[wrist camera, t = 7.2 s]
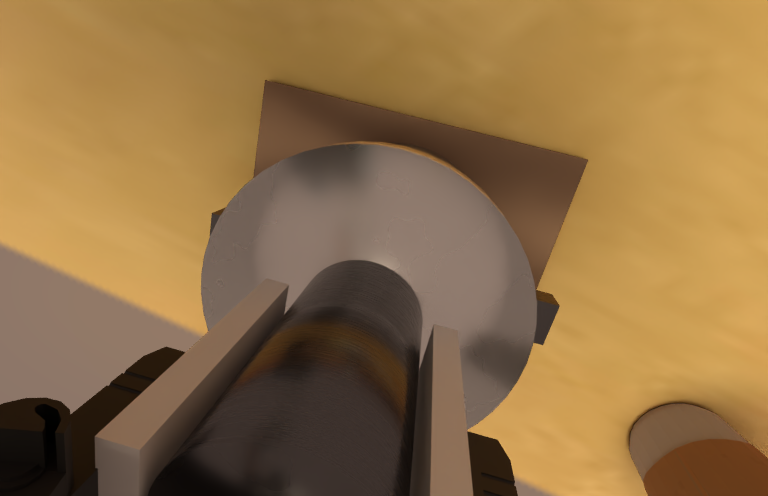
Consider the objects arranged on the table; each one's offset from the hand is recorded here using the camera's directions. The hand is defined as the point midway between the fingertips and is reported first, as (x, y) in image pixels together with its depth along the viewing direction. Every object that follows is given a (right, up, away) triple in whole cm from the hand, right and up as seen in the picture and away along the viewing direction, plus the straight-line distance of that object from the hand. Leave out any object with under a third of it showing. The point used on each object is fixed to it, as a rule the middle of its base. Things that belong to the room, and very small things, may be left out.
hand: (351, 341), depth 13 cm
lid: (0, +1, +3) cm, 3 cm away
